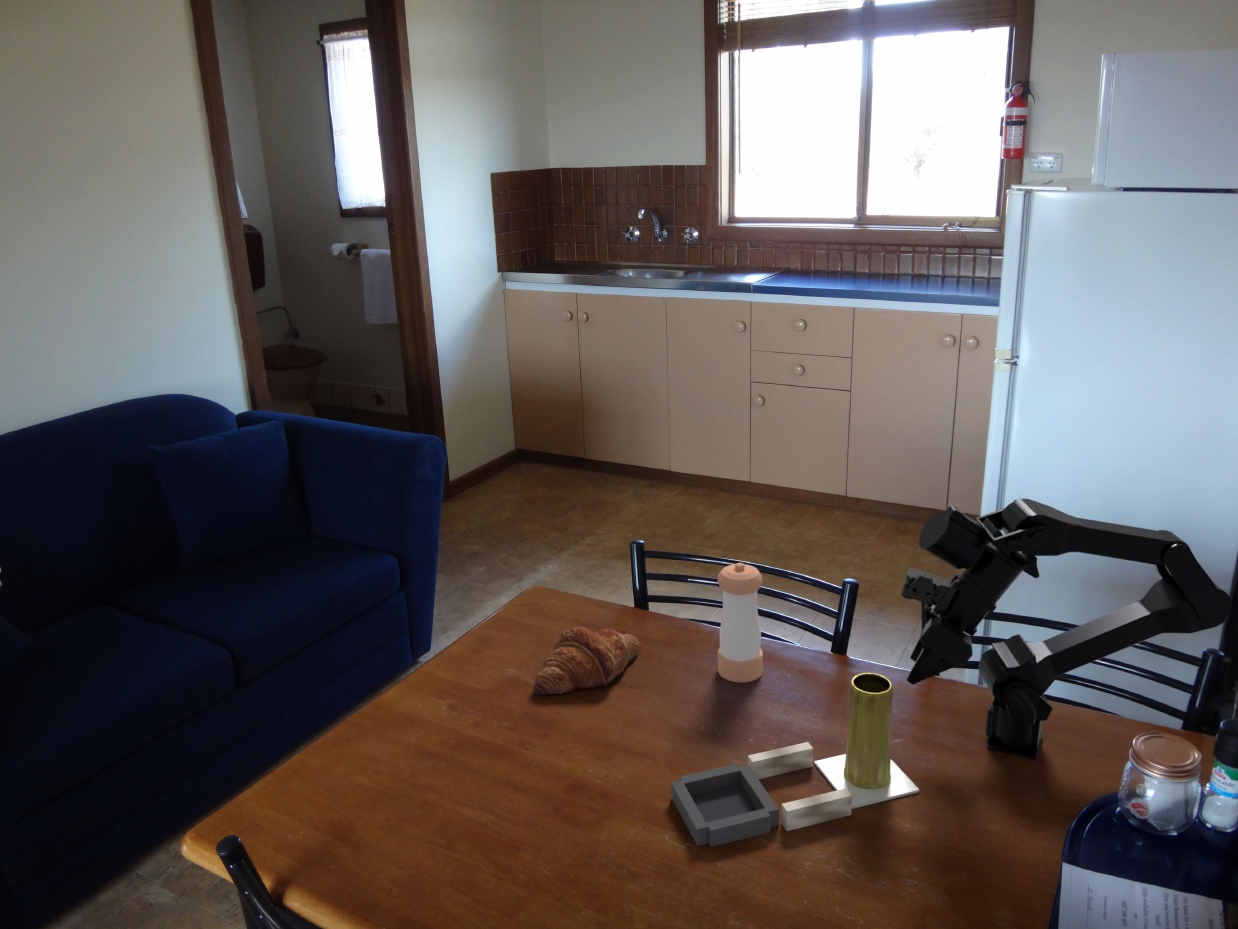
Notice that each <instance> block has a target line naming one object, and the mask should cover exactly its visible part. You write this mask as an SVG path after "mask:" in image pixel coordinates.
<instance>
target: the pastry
mask: <svg viewBox="0 0 1238 929" xmlns="http://www.w3.org/2000/svg"><path fill="white" fill-rule="evenodd" d="M639 649H640V641H638V638H637V637H635V636H634V634H632V633H626V634H622V633H619V632H618V631H617V630H615V629H613V628H610V627H609V628H608V627H606V628H603V629H601V630H598V631H592V630H590V629H588V628H586V627H585V626H572V627H569V628H565V629H564V631H563V632H562V633H561V634H560V636H559V638H558V639H557V640H556V641H555V642H554V646H553V650H552V651H551V652H550V653H548V654H547V656H546V657H545V658H544V662H543V665H542V667H541V670H540V671H539V673H538V674H536V677H535V680H534V684H533V685H534V686H533V690H534V692H535V693H536V695H537V696H539V695H543V696H545V695H549V694H550V695H551V694H560V695H564V694H563V693H565V694H568V693H570V692H569V691H571V692H573V691H574V690H573V689H575V690H578V689H577V688H580V689H579V690H589V689H593V688H597V687H607V686H608V685H609V684H610V683H612V681H613V680H615V677H616V678H617V677H620V675H621V674H622V673H623V672H624V671H625V669H626V667H627V666H628V664H629V663H630V662H631V660H632V661H633V660H634V659H635V658H636V657H637V655H638V654H639ZM606 685H607V686H606ZM596 686H597V687H596ZM567 692H568V693H567ZM544 694H545V695H544Z"/></svg>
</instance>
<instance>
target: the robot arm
mask: <svg viewBox="0 0 1238 929" xmlns="http://www.w3.org/2000/svg"><path fill="white" fill-rule="evenodd" d="M1001 531H1002V532H1003V533H1002V532H1001ZM918 546H919V547H920V548H921V549H922V550H924V551H926V552H927V553H929V554H930V555H932V556H935V557H936V558H938V559H939V560H941V561H943V562H944V563H946V564H948V565H950V566H951V567H952V568H954V569H957V570H962V569H964V570H963V571H962V572H957V573H955V574H954V575H953V576H952V577H951V578H950V579H948V578H945V577H941V576H939V575H937V574H933V573H930V572H926V571H923V570H919V569H917V568H912V567H910V568H907V570H906V571H907V572H906V574H905V577H904V582H903V584H902V588H901V591H900V596H901V597H902V598H904V599H906V600H914V601H918V602H921V603H925V605H924V610H923V611H924V615H925V625H924V627H923V629H922V630H921V631H920V636H919V637H918V640H917V642H916V643H915V644H916V645H915V646H914V648H913V650H912V652H911V654H910V659H911V660H912V661H914V662H915V663H914V664H913V666H912V668H911V670H910V671H909V673H908V675H907V677H906V681H907V682H908V683H909V684H911V685H912V686H913V685H916V684H919V683H921V682H923V681H925V680H927V679H929V678H932V677H934V676H936V675H938V674H941V673H943V672H946V671H949V670H950V669H954V668H955V667H956V668H959V667H960V666H962V667H964V666H965V665H966V664H967V663H968V662H969V660H970V659H971V658H972V657H973V655H974V654H973V653H974V652H973V643H972V642H973V641H972V638H973V637H974V635H975V634H976V633H977V632H978V626H979V624H980V623H981V622H982V621H983V619H985V617H986V616H987V615H988V614H989V613H991V614H992V613H994V611H995V610H996V609H997V603H998V602H999V600H1000V599H1001V598H1002V597H1003V595H1004V594H1005V593H1006V592H1007V590H1009V588H1010V587H1011V586H1012V585H1013V584H1014V582H1015V581H1016V580H1017V578H1018V577H1019V576H1020V575H1021V574H1022V572H1024V573H1026V574H1027V575H1029V576H1031V577H1032V578H1034V579H1038V578H1040V572H1039V568H1038V558H1037V557H1058V556H1061V555H1064V554H1069V553H1080V554H1081V553H1082V554H1086V555H1091V556H1092V555H1093V556H1099V557H1100V556H1101V557H1106V558H1109V559H1110V558H1111V559H1119V560H1125V561H1130V562H1136V563H1141V564H1147V565H1148V564H1149V565H1154V567H1155V570H1156V572H1157V573H1158V575H1159V577H1160V578H1161V579H1159V580H1157V581H1156V582H1154V583H1153V585H1152V586H1151V587H1150V588H1149V590H1148V591H1147V592H1146V594H1145V595H1144V596H1143V597H1142V598H1141V599H1140V600H1138V601H1136V602H1135V601H1134V602H1133V603H1130V604H1128V605H1127V606H1124V607H1121V608H1118V609H1116V610H1114V611H1112V612H1109V613H1107V614H1105V615H1102V616H1100V617H1098V618H1095V619H1092V620H1090V621H1088V622H1085V623H1083V624H1080V625H1078V626H1076V627H1073V628H1070V629H1068V630H1066V631H1063V632H1061V633H1059V634H1057V635H1055V636H1052V637H1049V638H1047V639H1045V640H1043V641H1039V642H1030V641H1029V642H1028V641H1027V642H1026V640H1025V639H1024V638H1023V637H1022V635H1021V634H1019V633H1018V634H1016V635H1014V634H1013V635H1012V636H1011V637H1008V638H1007V639H1004V641H1000V642H993V643H991V644H990V646H991V647H992V648H990V649H989V648H988V649H987V650H986V651H984V652H983V653H982V655H981V658H980V660H979V662H978V671H979V675H980V676H981V679H983V682H984V683H985V685H986V687H987V688H988V690H989V692H991V695H992V697H993V698H994V699H993V701H992V702H990V703H989V706H988V709H987V712H986V713H987V714H986V715H987V716H986V724H985V736H986V737H987V740H986V747H987V748H989V749H993V750H997V751H1001V752H1004V753H1009V754H1013V755H1017V756H1020V757H1024V758H1028V759H1032V760H1034V759H1035V760H1036V759H1037V757H1038V754H1039V750H1040V745H1041V740H1042V737H1043V732H1042V725H1043V722H1045V721H1047V720H1048V718H1049V717H1050V715H1051V713H1052V711H1053V707H1052V705H1051V703H1050V702H1049V700H1048V699H1047V698H1046V696H1045V695H1044V694H1045V693H1046V692H1047V691H1048V689H1049V688H1050V687H1051V686H1052V685H1053V683H1054V682H1055V681H1056V679H1058V677H1060V676H1062V675H1064V674H1067V673H1068V672H1071V671H1074V670H1076V669H1078V668H1081V667H1084V666H1086V665H1089V664H1091V663H1093V662H1096V661H1098V660H1100V659H1104V658H1106V657H1109V656H1111V655H1113V654H1115V653H1117V652H1119V651H1123V650H1125V649H1127V648H1130V647H1132V646H1135V645H1137V644H1140V643H1142V642H1145V641H1147V640H1149V639H1152V638H1154V637H1156V636H1159V635H1163V634H1185V635H1186V634H1188V635H1189V634H1194V633H1198V632H1201V631H1207V630H1210V629H1214V628H1217V627H1219V626H1221V625H1223V624H1225V623H1226V622H1227V620H1228V619H1229V615H1230V613H1231V611H1232V608H1233V603H1232V602H1233V601H1232V597H1231V596H1230V595H1229V593H1227V591H1225V590H1224V589H1223V588H1221V587H1220V586H1219V585H1218V584H1216V583H1215V582H1214V581H1213V580H1212V579H1211V577H1210V576H1209V575H1208V573H1207V572H1206V570H1205V569H1204V567H1202V565H1201V564H1200V563H1199V561H1198V560H1197V558H1196V556H1195V555H1194V553H1193V551H1192V549H1191V548H1190V547H1191V546H1190V545H1189V544H1188V543H1187V542H1185V541H1184V540H1183V539H1181V538H1180V537H1179V536H1177V535H1176V534H1175V533H1174V532H1173V531H1170V530H1167V529H1157V530H1155V529H1149V528H1143V527H1137V526H1131V525H1126V524H1119V523H1114V522H1113V523H1112V522H1106V521H1100V520H1095V519H1087V518H1082V517H1076V516H1073V515H1070V514H1068V513H1065V512H1063V511H1061V510H1059V509H1056V508H1055V507H1052V506H1050V505H1047V504H1045V503H1041V502H1038V501H1036V500H1033V499H1030V498H1017V499H1014V500H1013V501H1012V502H1011V503H1009V504H1007V505H1006V507H1004V508H1000V509H998V510H995V511H991V512H989V513H986V514H983V515H980V516H977V517H975V518H974V519H973V518H972V517H970V516H968V515H967V514H964V513H963V512H962V510H960V509H959V508H958V507H956V506H954V505H952V504H951V505H949V506H948V508H947V509H946V510H945V511H940V512H938V513H936V514H935V515H934V516H933V517H930V518H929V519H928V520H927V522H926V523H925V524H924V526H923V527H922V529H921V532H920V534H919V539H918Z"/></svg>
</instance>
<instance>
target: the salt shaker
mask: <svg viewBox="0 0 1238 929" xmlns="http://www.w3.org/2000/svg"><path fill="white" fill-rule="evenodd" d="M717 583H718V585H719V587H720V589H721V590H722V615H721V621H720V628H719V634H718V635H719V648H718V650H717V672H718V674H719V676H720V677H721V678H723V679H724V680H726V681H729V682H732V683H733V682H734V683H750V682H753V681H756V680H758V679H759V678H761V676H762V675H763V671H764V670H763V668H764V662H763V660H764V656H763V655H764V653H763V650H762V648H761V643H762V642H761V640H762V636H761V635H762V630H761V625H760V619H759V612H758V591H759V589H760V588H761V587H762V585H763V576H762V574H761V573H760V570H759V569H758V568H757V567H755V566H752V565H750V564H745V563H743V562H738V563H735V564H730V565H727V566H725V567H723V568H722V569H721V571H720V572H719V573H718V576H717Z"/></svg>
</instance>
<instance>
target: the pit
mask: <svg viewBox="0 0 1238 929" xmlns="http://www.w3.org/2000/svg"><path fill="white" fill-rule="evenodd" d="M670 786H671V787H670V788H671V789H670V790H671V791H670V793H671V800H672V801H673V804H674V805H675V807H676V810H677V811H678V813H679V815H680V817H681V818H682V820H683V822H684V824H685V826H686V828H687V829H688V831H689V833H690V836H691V837H692V839H693V842H694V843H695V845H696V847H699V846H703V845H709V847H710V848H713V847H716V846H717V847H718V846H721V845H726V844H730V843H734V842H737V841H741V840H747V839H749V838H753V837H757V836H760V835H761V836H762V835H764V834H769V833H771V828H774V827H779V826H780V809H779V807H778V806H777V804H776V803H775V801H774V800H773V799H772V797H771V796H770V794H769V793H768V791H767V790H766V789H765V787H764V785H763V784H762V783H761V781H760V779H758V778H757V777H756V775H755V774H754V772H753V771H752V769H751V768H750V767H749V765H748V764H746V765H742V766H738V765H737V763H734V764H730V765H726V766H721V767H717V768H711V769H708V770H704V771H703V770H702V771H699V772H694V773H689V774H685V775H681V776H679V780H676V781H672V782H670Z"/></svg>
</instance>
